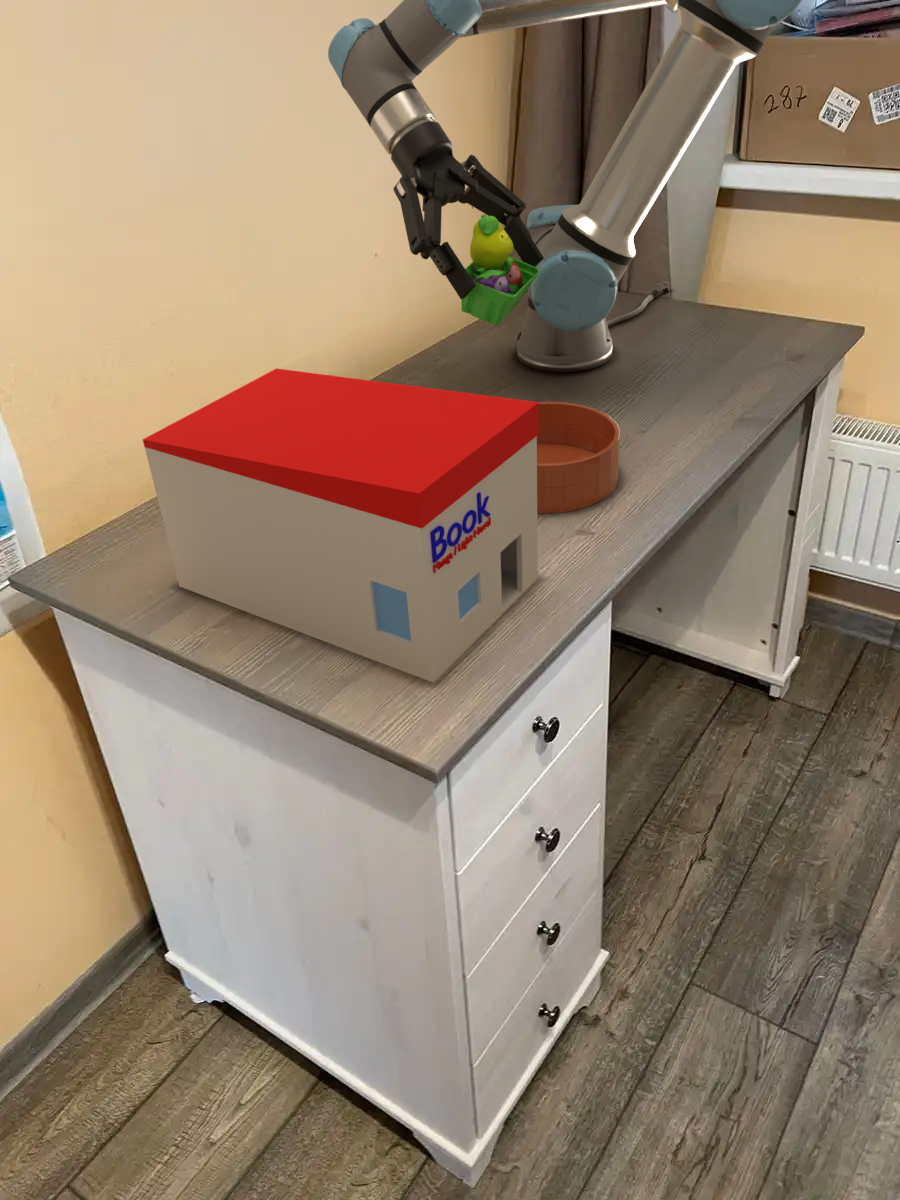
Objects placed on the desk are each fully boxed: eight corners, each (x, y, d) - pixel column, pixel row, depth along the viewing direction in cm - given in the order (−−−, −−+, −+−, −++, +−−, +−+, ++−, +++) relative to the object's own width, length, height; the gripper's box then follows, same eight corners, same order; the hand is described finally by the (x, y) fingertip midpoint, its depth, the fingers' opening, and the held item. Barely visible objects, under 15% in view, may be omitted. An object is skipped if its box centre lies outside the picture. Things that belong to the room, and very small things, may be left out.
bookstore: (436, 684, 98) (421, 494, 86) (179, 586, 115) (136, 415, 103) (541, 579, 112) (540, 402, 100) (298, 505, 129) (272, 346, 117)
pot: (560, 434, 141) (560, 390, 138) (647, 484, 128) (650, 437, 125) (449, 471, 134) (446, 426, 130) (529, 528, 121) (528, 480, 117)
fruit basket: (502, 334, 129) (529, 250, 122) (439, 307, 130) (462, 222, 123) (530, 304, 138) (556, 224, 131) (471, 279, 139) (494, 198, 132)
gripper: (463, 140, 141) (547, 269, 141) (329, 177, 127) (422, 321, 127) (491, 101, 135) (579, 237, 135) (354, 136, 121) (452, 288, 121)
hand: (503, 278), depth 131 cm, fingers closed on fruit basket, 13 cm apart
